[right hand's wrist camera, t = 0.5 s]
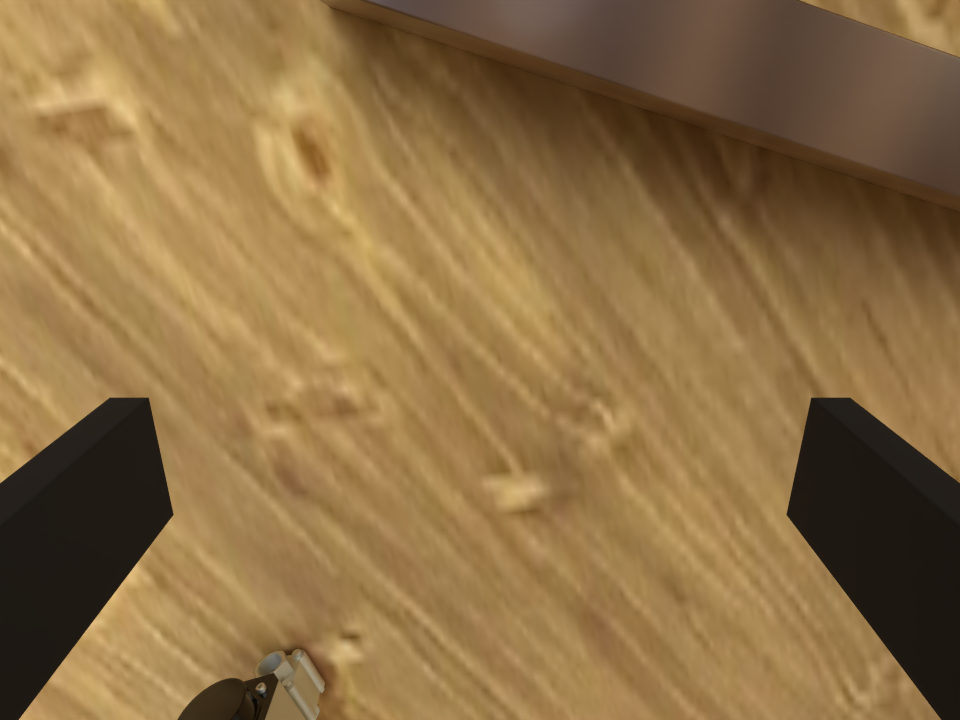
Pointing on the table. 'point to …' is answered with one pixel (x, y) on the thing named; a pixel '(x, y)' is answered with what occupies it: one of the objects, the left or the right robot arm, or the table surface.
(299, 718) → the pneumatic valve
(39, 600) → the right robot arm
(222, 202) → the table surface
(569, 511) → the table surface
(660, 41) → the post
